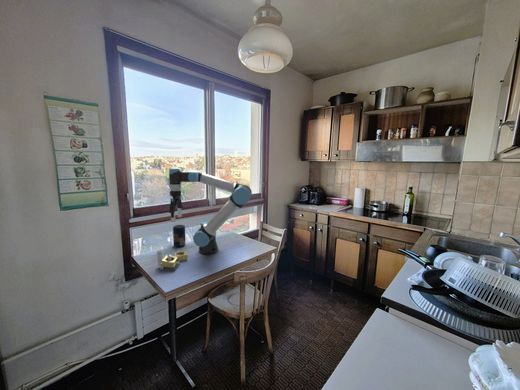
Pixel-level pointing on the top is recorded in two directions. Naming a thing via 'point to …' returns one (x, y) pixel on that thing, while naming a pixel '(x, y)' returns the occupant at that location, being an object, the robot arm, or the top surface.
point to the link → (169, 262)
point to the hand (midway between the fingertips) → (176, 219)
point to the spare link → (181, 255)
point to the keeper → (159, 256)
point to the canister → (179, 235)
